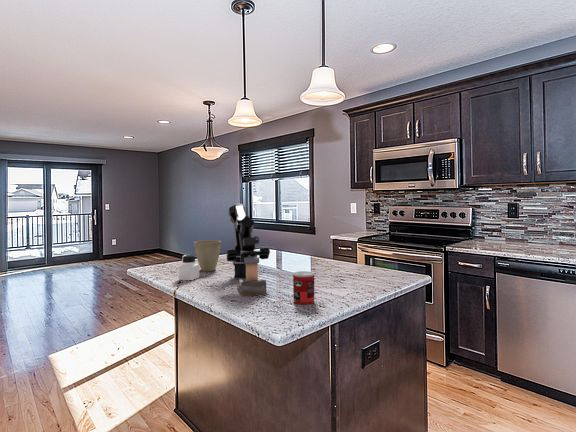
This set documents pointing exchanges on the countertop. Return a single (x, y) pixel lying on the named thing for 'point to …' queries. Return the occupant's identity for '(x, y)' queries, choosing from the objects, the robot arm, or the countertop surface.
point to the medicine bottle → (188, 268)
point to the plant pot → (207, 253)
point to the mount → (252, 287)
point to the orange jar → (251, 268)
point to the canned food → (303, 287)
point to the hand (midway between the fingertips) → (250, 270)
